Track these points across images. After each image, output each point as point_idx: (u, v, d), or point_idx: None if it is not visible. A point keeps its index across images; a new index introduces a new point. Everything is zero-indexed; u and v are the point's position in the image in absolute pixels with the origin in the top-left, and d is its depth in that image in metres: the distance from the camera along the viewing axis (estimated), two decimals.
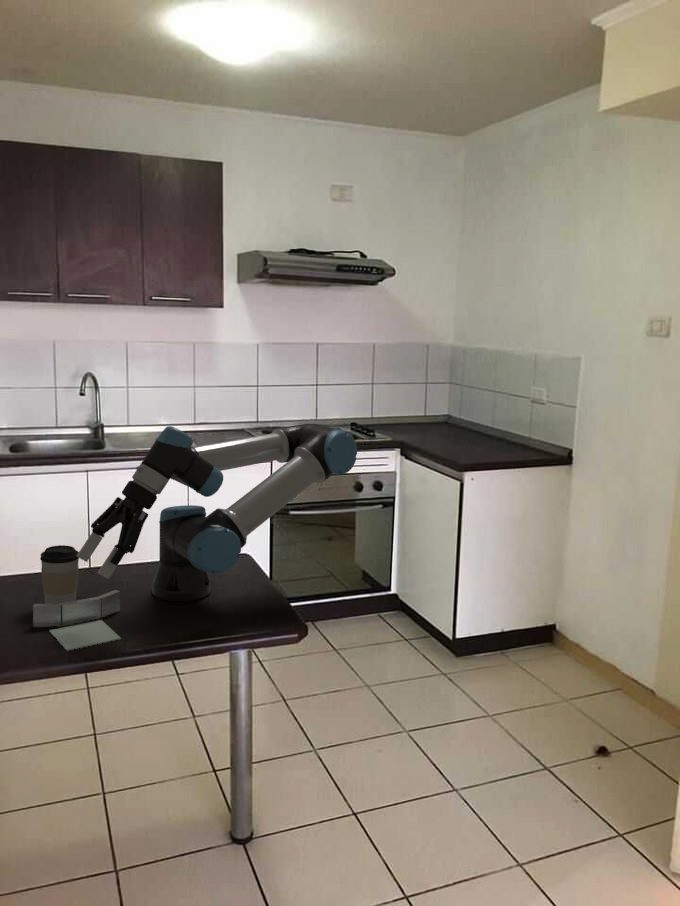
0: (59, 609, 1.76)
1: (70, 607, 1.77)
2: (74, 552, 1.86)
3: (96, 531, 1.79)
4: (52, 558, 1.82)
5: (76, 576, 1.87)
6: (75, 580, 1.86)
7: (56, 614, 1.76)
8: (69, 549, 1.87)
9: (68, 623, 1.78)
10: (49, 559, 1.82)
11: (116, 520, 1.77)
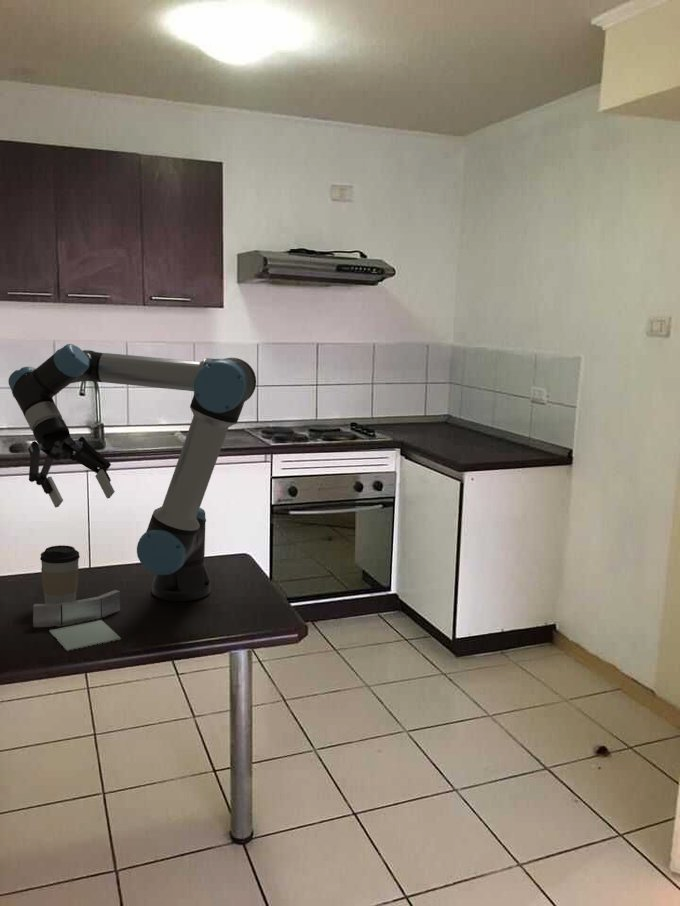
0: (59, 609, 1.76)
1: (70, 607, 1.77)
2: (74, 552, 1.86)
3: (97, 472, 1.82)
4: (52, 558, 1.82)
5: (76, 576, 1.87)
6: (75, 580, 1.86)
7: (56, 614, 1.76)
8: (69, 549, 1.87)
9: (68, 623, 1.78)
10: (49, 559, 1.82)
11: (77, 456, 1.80)
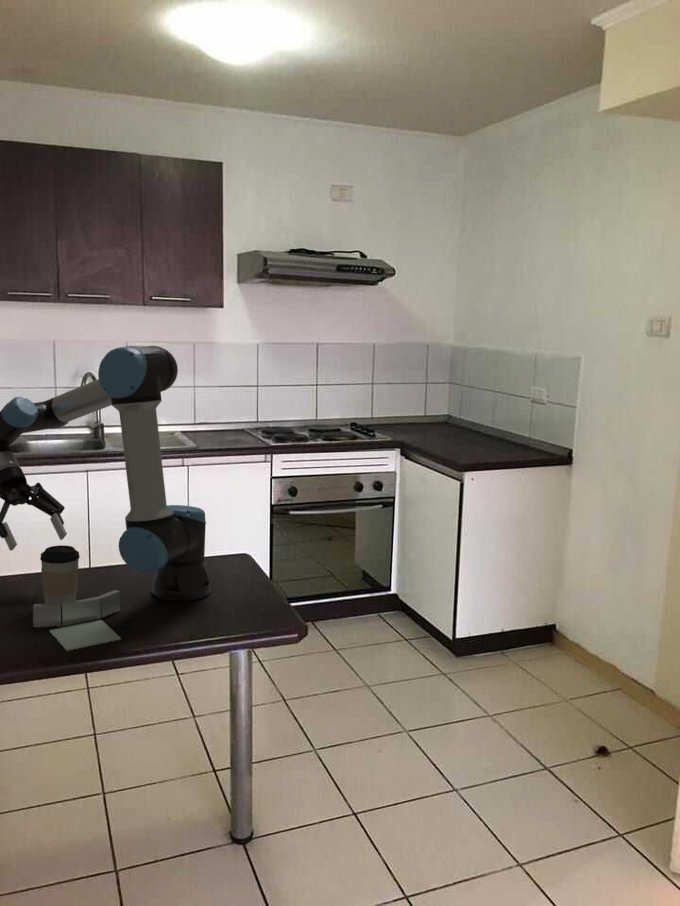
0: (59, 609, 1.76)
1: (70, 607, 1.77)
2: (74, 552, 1.86)
3: (52, 515, 1.99)
4: (52, 558, 1.82)
5: (76, 576, 1.87)
6: (75, 580, 1.86)
7: (56, 614, 1.76)
8: (69, 549, 1.87)
9: (68, 623, 1.78)
10: (49, 559, 1.82)
11: (33, 501, 1.97)
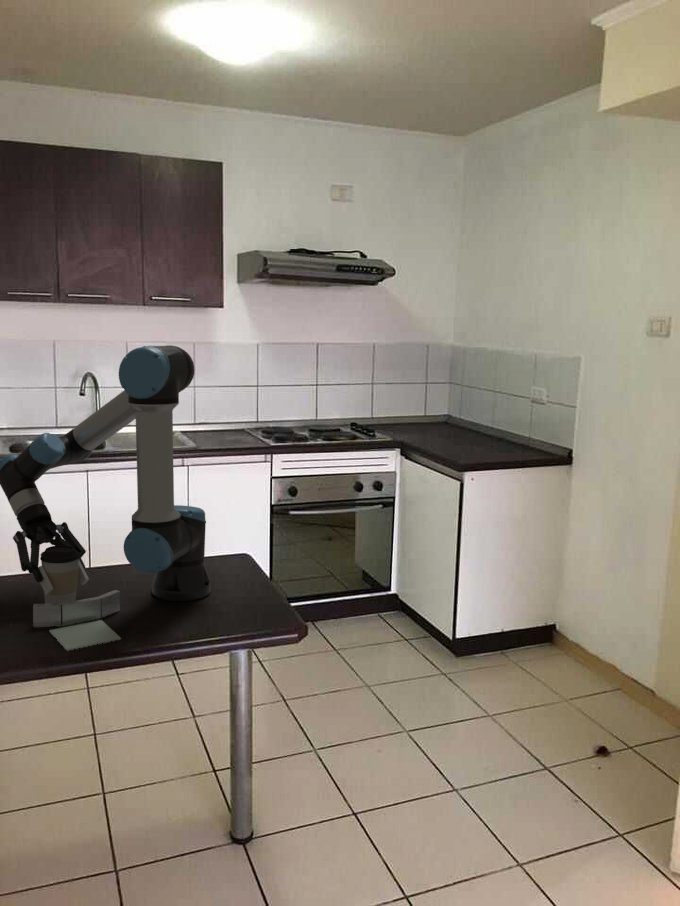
0: (59, 609, 1.76)
1: (70, 607, 1.77)
2: (74, 552, 1.86)
3: None
4: (52, 558, 1.82)
5: (76, 576, 1.87)
6: (75, 580, 1.86)
7: (56, 614, 1.76)
8: (69, 549, 1.87)
9: (68, 623, 1.78)
10: (49, 559, 1.82)
11: (56, 541, 1.91)
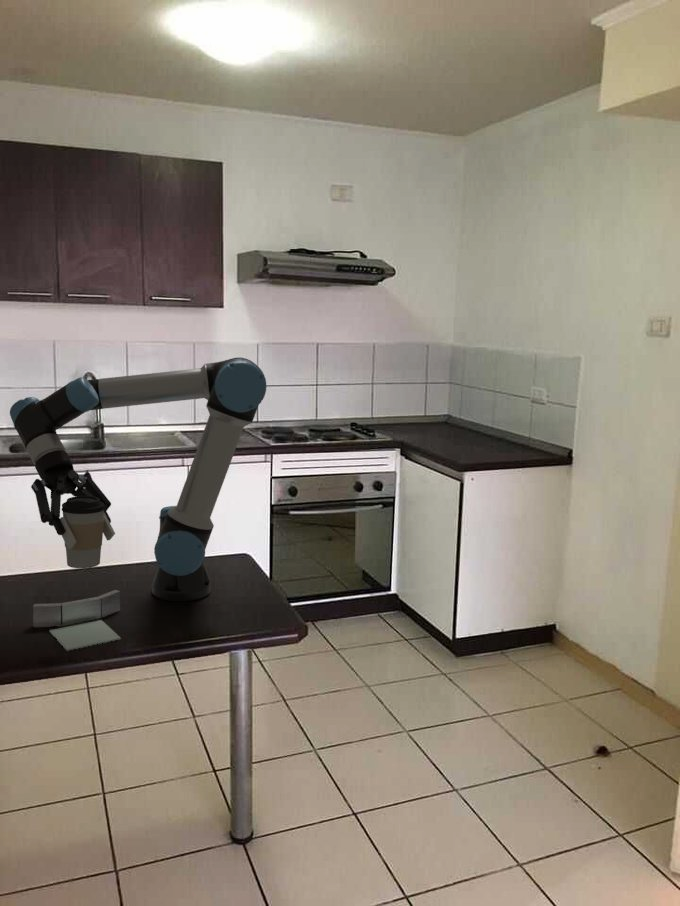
0: (59, 609, 1.76)
1: (70, 607, 1.77)
2: (99, 502, 1.67)
3: None
4: (75, 508, 1.63)
5: (101, 530, 1.68)
6: (100, 534, 1.68)
7: (56, 614, 1.76)
8: (93, 500, 1.68)
9: (68, 623, 1.78)
10: (72, 509, 1.63)
11: (78, 492, 1.72)
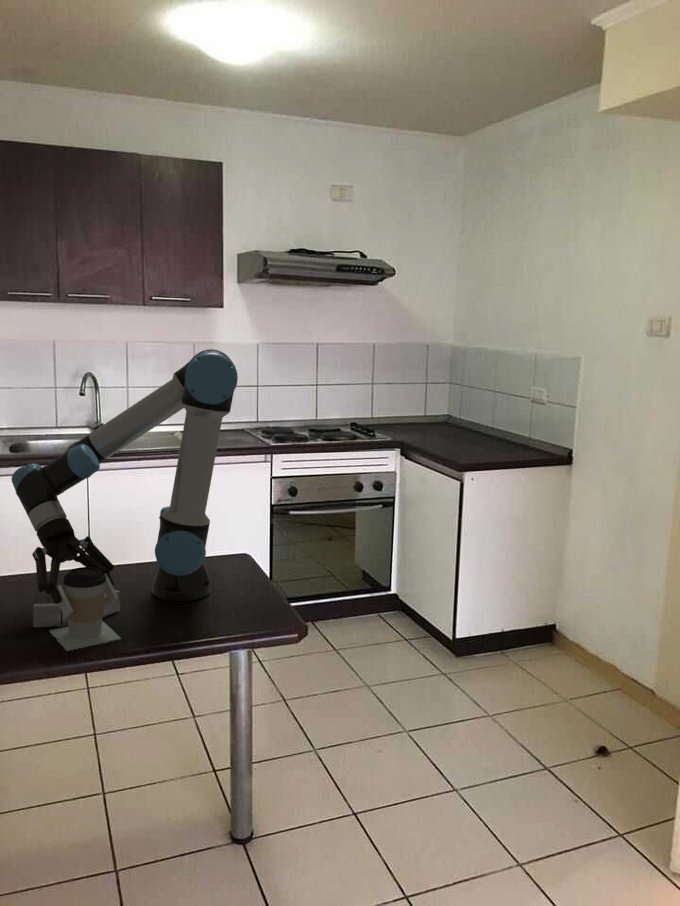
0: (59, 609, 1.76)
1: None
2: (100, 575, 1.70)
3: None
4: (77, 582, 1.66)
5: (102, 601, 1.71)
6: (101, 605, 1.70)
7: (56, 614, 1.76)
8: (95, 571, 1.71)
9: None
10: (73, 583, 1.66)
11: (80, 558, 1.75)
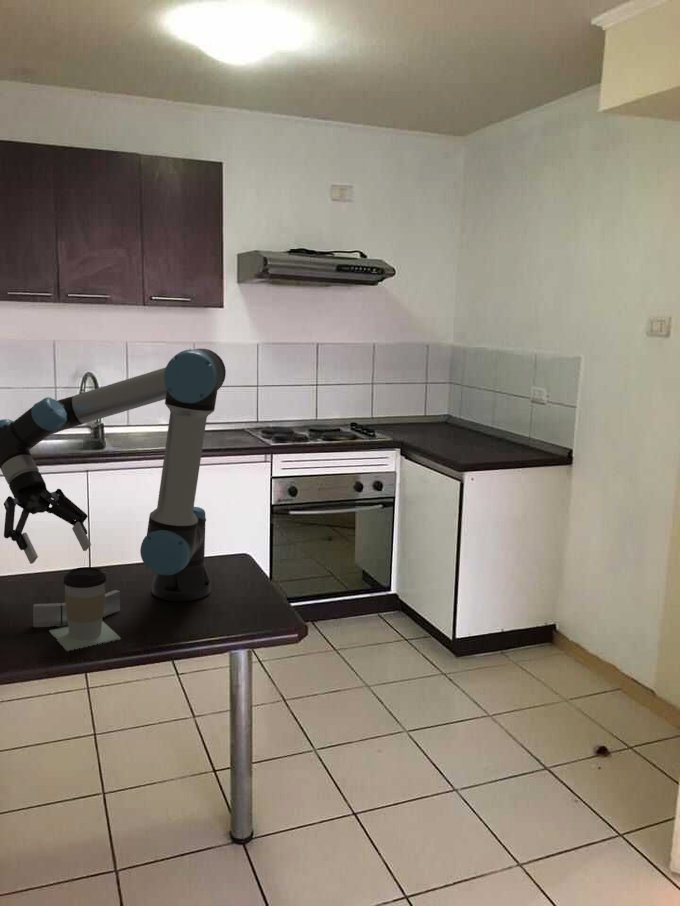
0: (59, 609, 1.76)
1: None
2: (100, 575, 1.70)
3: (74, 524, 1.82)
4: (77, 582, 1.66)
5: (102, 601, 1.71)
6: (101, 605, 1.70)
7: (56, 614, 1.76)
8: (95, 571, 1.71)
9: None
10: (74, 583, 1.66)
11: (53, 509, 1.80)
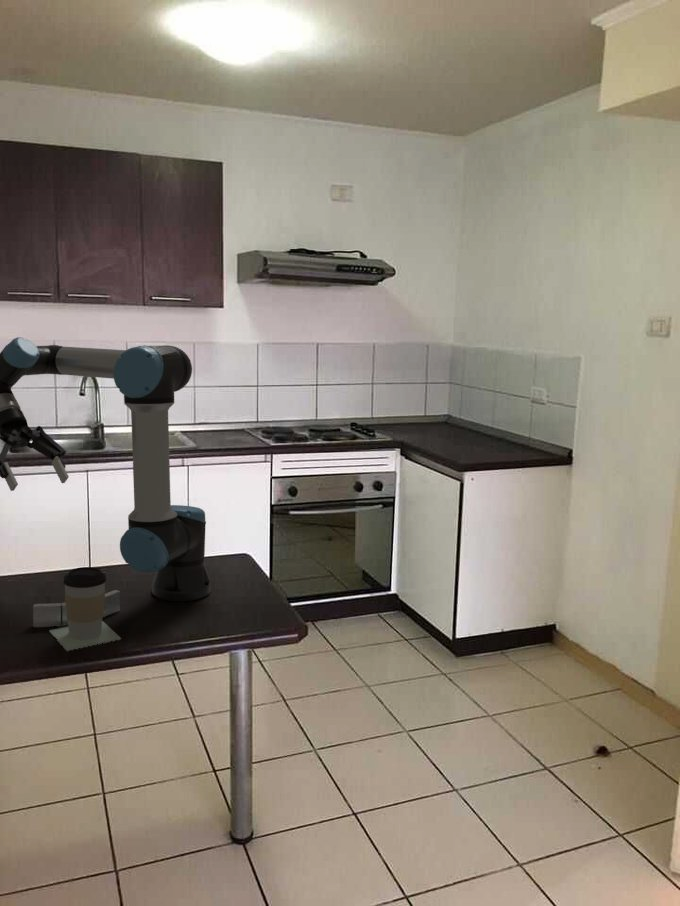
0: (59, 609, 1.76)
1: None
2: (100, 575, 1.70)
3: (53, 458, 1.95)
4: (77, 582, 1.66)
5: (103, 601, 1.71)
6: (101, 605, 1.70)
7: (56, 614, 1.76)
8: (95, 571, 1.71)
9: None
10: (74, 583, 1.66)
11: (34, 444, 1.93)
